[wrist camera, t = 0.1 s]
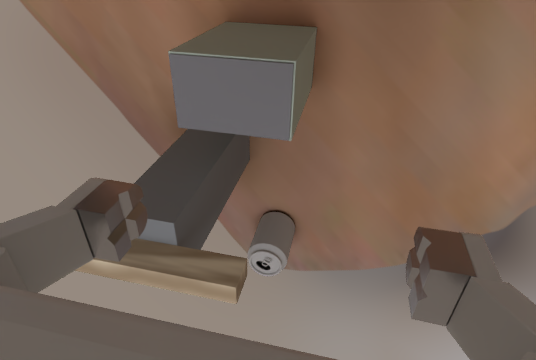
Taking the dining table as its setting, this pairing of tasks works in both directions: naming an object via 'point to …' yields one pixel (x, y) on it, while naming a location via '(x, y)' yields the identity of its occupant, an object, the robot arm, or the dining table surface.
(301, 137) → the dining table surface
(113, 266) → the bar
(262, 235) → the can
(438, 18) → the dining table surface
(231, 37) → the grey block
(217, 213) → the pedestal
